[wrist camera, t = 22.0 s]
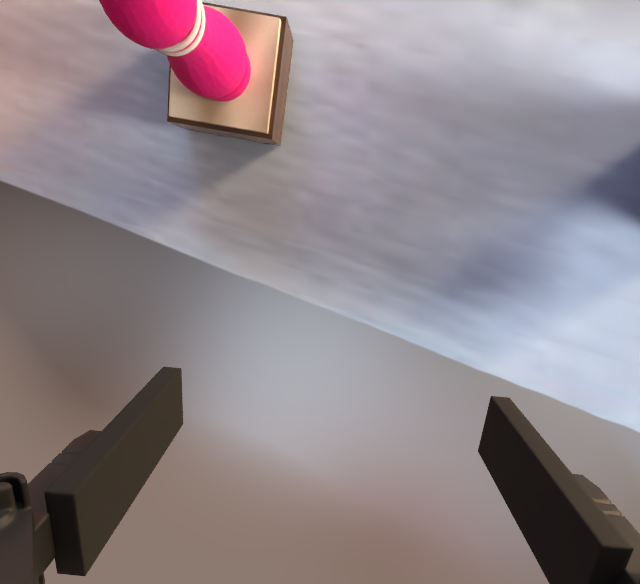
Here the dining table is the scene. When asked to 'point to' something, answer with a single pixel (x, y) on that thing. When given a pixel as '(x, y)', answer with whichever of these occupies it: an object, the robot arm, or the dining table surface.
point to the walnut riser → (261, 92)
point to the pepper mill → (188, 42)
